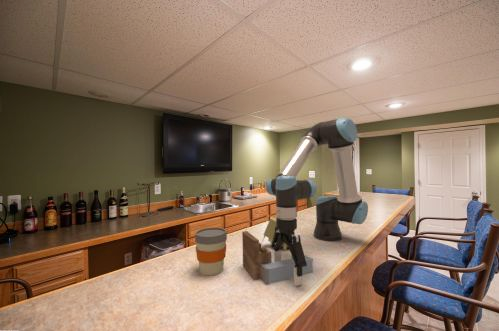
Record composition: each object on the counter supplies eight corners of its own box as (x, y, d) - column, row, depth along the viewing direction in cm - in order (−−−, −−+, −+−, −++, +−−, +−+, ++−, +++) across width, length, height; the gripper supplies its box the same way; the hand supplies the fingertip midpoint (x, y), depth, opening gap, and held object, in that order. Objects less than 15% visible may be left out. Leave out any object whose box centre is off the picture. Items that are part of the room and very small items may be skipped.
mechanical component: (290, 264, 101) (307, 227, 99) (257, 248, 104) (273, 211, 103) (290, 257, 108) (306, 222, 107) (260, 242, 112) (274, 208, 110)
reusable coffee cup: (232, 264, 87) (231, 228, 87) (218, 280, 75) (217, 238, 75) (206, 261, 91) (205, 226, 91) (188, 275, 79) (188, 235, 80)
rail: (305, 267, 84) (305, 254, 84) (312, 272, 80) (312, 258, 80) (260, 278, 76) (260, 264, 76) (266, 284, 72) (266, 269, 72)
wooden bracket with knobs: (258, 262, 89) (257, 229, 89) (271, 276, 78) (271, 238, 78) (242, 265, 86) (242, 231, 86) (254, 280, 75) (253, 240, 75)
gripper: (262, 212, 88) (263, 263, 88) (297, 227, 65) (298, 296, 65) (278, 210, 91) (279, 260, 91) (317, 224, 68) (318, 291, 67)
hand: (287, 275), depth 78 cm, fingers open, 13 cm apart
